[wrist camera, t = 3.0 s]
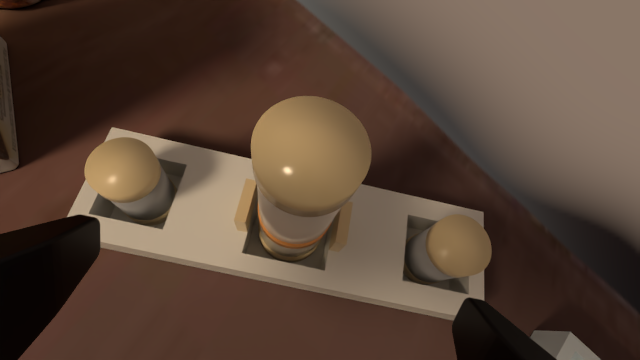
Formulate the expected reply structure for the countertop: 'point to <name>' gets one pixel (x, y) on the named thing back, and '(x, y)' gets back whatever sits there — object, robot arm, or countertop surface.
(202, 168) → the fuse block
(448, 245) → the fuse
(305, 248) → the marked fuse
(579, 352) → the tray
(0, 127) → the coffee box
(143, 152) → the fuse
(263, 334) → the countertop surface
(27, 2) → the sauce bottle
